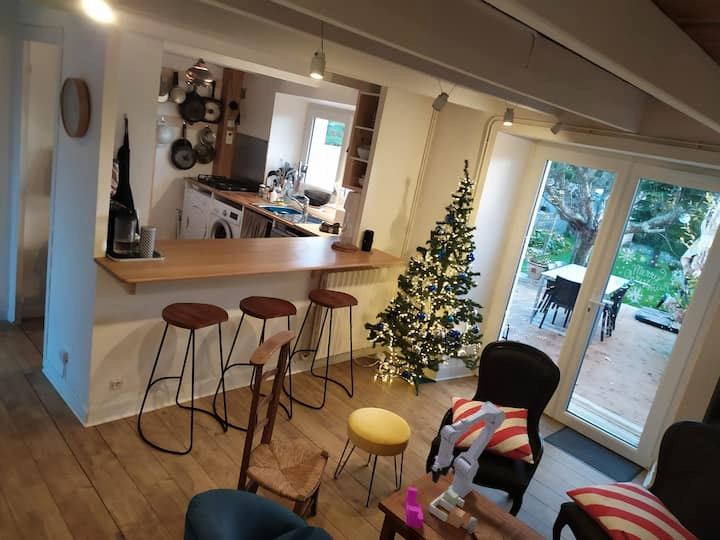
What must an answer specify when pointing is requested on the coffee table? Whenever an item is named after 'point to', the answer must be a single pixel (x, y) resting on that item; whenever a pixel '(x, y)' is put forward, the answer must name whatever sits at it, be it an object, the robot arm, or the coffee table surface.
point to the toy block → (413, 509)
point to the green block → (451, 497)
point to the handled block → (461, 520)
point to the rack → (444, 504)
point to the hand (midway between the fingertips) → (439, 478)
